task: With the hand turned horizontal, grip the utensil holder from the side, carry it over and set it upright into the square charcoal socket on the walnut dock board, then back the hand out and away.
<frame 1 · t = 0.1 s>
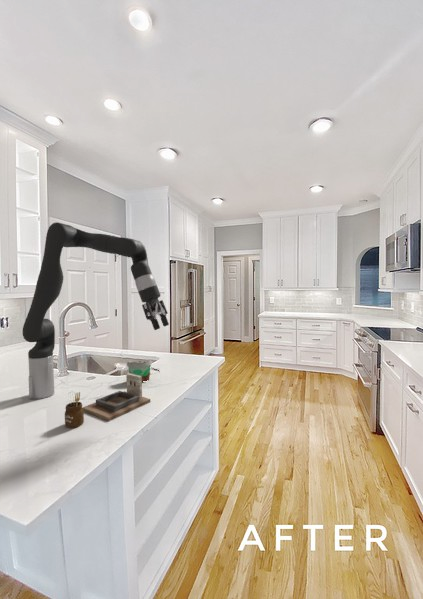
hand: (162, 327, 113), 31 cm above the counter, tool tilted 20°, fingers open, 8 cm apart
phone case: (147, 371, 164), on the counter
utensil holder: (74, 425, 102), on the counter
food container: (140, 382, 146), on the counter
charging dock: (117, 406, 117), on the counter
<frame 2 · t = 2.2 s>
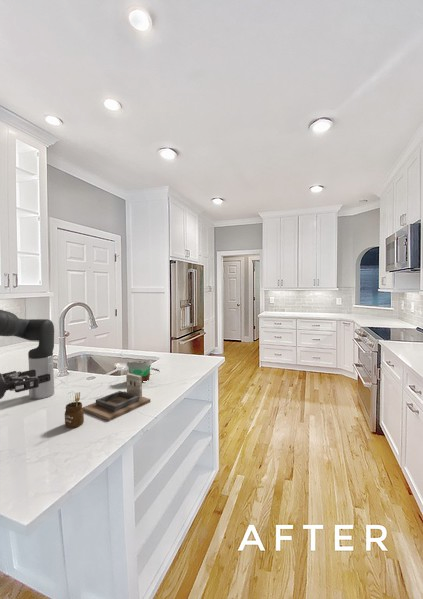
hand: (42, 374, 92), 20 cm above the counter, tool horizontal, fingers open, 8 cm apart
nothing on the counter moved.
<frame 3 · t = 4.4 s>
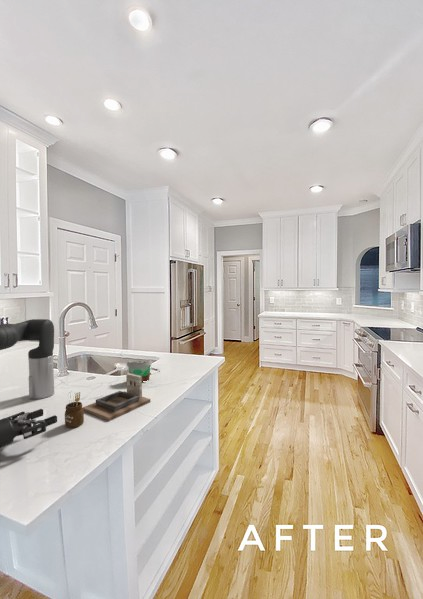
hand: (49, 415, 95), 6 cm above the counter, tool horizontal, fingers open, 8 cm apart
nothing on the counter moved.
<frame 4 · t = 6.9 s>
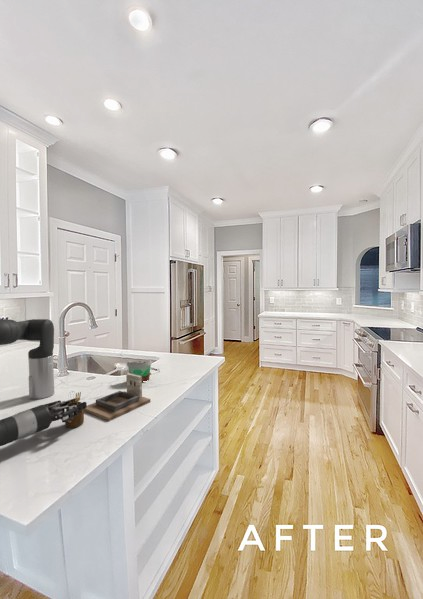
hand: (80, 402, 104), 7 cm above the counter, tool horizontal, fingers closed on utensil holder, 5 cm apart
utensil holder: (74, 424, 102), on the counter, touching gripper
everything else where it was.
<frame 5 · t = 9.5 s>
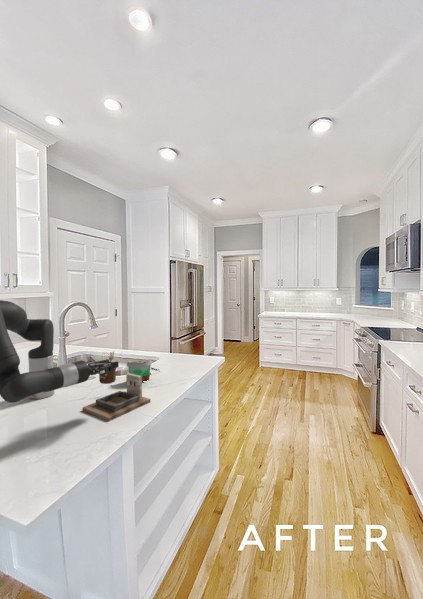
hand: (113, 362, 114), 18 cm above the counter, tool horizontal, fingers closed on utensil holder, 5 cm apart
utensil holder: (107, 382, 113), point 11 cm above the counter, touching gripper
everything else where it was.
when the fingers open (9 cm above the counter, at t = 12.5 s): utensil holder moves 1 cm, resting on charging dock.
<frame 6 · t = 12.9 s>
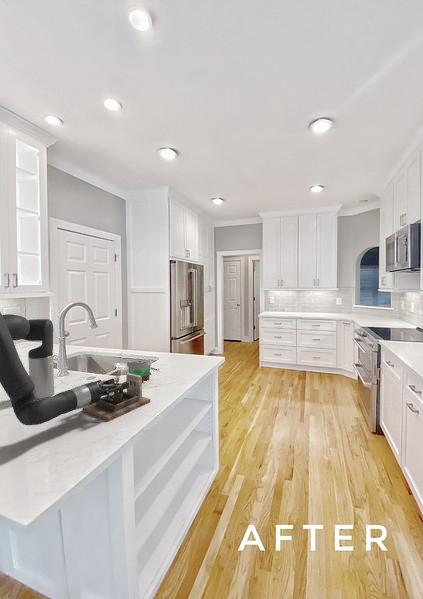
hand: (121, 382, 118), 9 cm above the counter, tool horizontal, fingers open, 8 cm apart
utensil holder: (115, 403, 117), point 1 cm above the counter, touching charging dock, gripper
everything else where it was.
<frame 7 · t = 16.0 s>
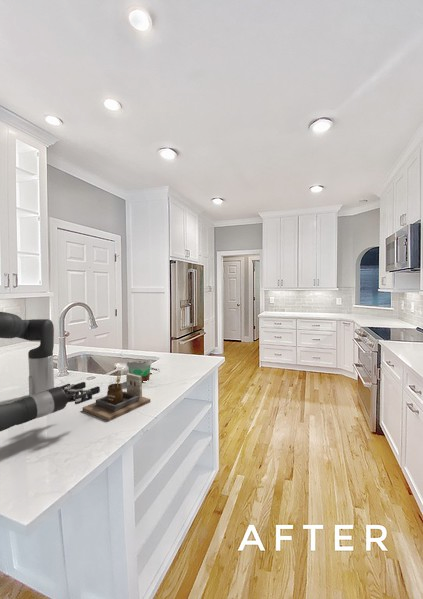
hand: (91, 386, 108), 11 cm above the counter, tool horizontal, fingers open, 8 cm apart
utensil holder: (115, 403, 117), point 1 cm above the counter, touching charging dock
everything else where it was.
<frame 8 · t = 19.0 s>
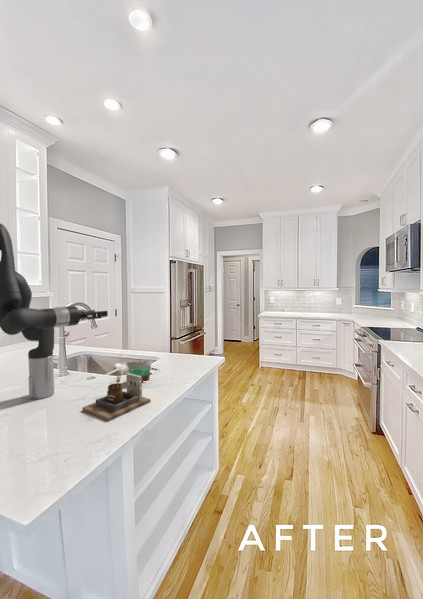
hand: (100, 312, 125), 36 cm above the counter, tool horizontal, fingers open, 8 cm apart
nothing on the counter moved.
at the end: utensil holder 0.9 cm off-centre on the charging dock, point 1.0 cm above the charging dock's base; utensil holder tilted 0°; the gripper is holding nothing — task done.
